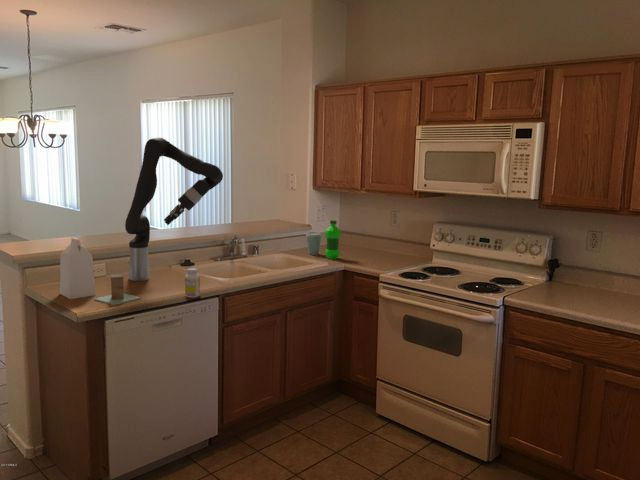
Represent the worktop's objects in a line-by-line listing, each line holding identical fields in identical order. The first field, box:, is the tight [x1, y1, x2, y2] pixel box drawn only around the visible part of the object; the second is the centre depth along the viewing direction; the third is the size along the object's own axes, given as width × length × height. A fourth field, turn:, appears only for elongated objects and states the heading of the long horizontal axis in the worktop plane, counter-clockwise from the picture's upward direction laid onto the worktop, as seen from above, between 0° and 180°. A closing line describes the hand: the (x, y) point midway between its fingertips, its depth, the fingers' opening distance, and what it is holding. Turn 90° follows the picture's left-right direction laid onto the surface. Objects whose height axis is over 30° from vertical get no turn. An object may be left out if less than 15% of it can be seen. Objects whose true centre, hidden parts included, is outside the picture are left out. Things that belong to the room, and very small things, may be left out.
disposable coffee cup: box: [305, 231, 322, 256], centre depth 365 cm, size 11×11×15 cm
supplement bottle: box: [184, 267, 201, 299], centre depth 248 cm, size 7×7×13 cm
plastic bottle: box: [324, 219, 342, 260], centre depth 351 cm, size 10×10×25 cm
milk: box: [59, 237, 97, 300], centre depth 245 cm, size 12×12×26 cm
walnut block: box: [110, 274, 125, 300], centre depth 239 cm, size 5×5×10 cm
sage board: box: [93, 292, 142, 306], centre depth 240 cm, size 14×14×1 cm
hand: (165, 222), depth 255 cm, fingers open, 8 cm apart
